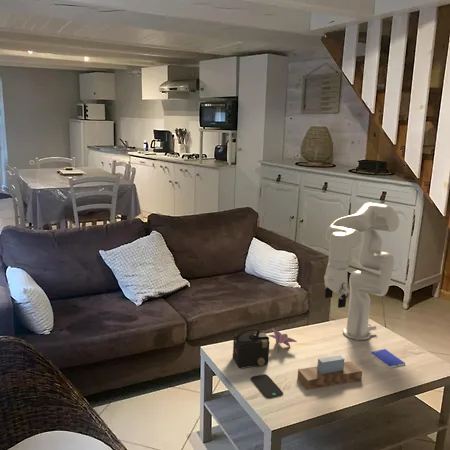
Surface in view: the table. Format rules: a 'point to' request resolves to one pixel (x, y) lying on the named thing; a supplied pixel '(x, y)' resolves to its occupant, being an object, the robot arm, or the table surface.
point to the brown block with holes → (329, 376)
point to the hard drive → (387, 358)
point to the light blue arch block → (330, 364)
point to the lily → (281, 338)
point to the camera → (250, 348)
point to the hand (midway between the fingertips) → (334, 302)
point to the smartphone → (266, 386)
